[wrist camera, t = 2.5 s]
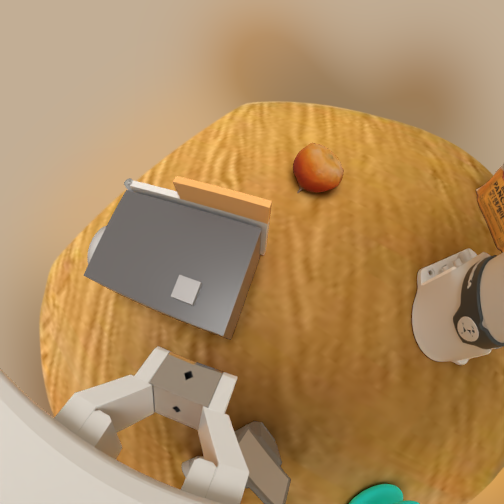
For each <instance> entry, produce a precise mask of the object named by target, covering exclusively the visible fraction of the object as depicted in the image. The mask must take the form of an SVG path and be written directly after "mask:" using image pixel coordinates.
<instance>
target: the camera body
mask: <svg viewBox="0 0 504 504" xmlns="http://www.w3.org/2000/svg"><path fill="white" fill-rule="evenodd" d="M261 232H262V229H261V228H258V227H255V226H251V225H248V224H245V223H241V222H238V221H235V220H231V219H228V218H224V217H221V216H218V215H214V214H211V213H207V212H204V211H200V210H197V209H193V208H190V207H186V206H183V205H179V204H176V203H172V202H168V201H165V200H161V199H158V198H154V197H150V196H147V195H143V194H139V193H135V192H132V191H128V190H126V192H125V193H124V195H123V197H122V199H121V200H120V202H119V204H118V206H117V208H116V210H115V211H114V213H113V215H112V217H111V219H110V221H109V223H108V225H107V226H105V227H103V228H101V229H100V230H99V231H98V232H97V233H96V234H95V236H94V237H93V239H92V241H91V243H90V246H89V250H88V267H87V269H86V271H85V274H84V276H86V277H88V278H89V279H91V280H93V281H95V282H97V283H99V284H101V285H102V286H104V287H106V288H108V289H110V290H112V291H114V292H116V293H118V294H120V295H122V296H124V297H126V298H129V299H131V300H133V301H135V302H137V303H140V304H142V305H144V306H146V307H149V308H151V309H153V310H155V311H158V312H160V313H163V314H165V315H167V316H170V317H172V318H175V319H177V320H180V321H182V322H185V323H187V324H190V325H192V326H195V327H197V328H200V329H203V330H205V331H208V332H211V333H213V334H216V335H219V336H222V337H224V338H227V339H230V340H231V339H232V336H233V333H234V330H235V328H236V325H237V322H238V319H239V316H240V313H241V311H242V308H243V305H244V302H245V299H246V296H247V293H248V291H249V288H250V285H251V282H252V279H253V276H254V273H255V271H256V268H257V265H258V262H259V259H260V246H261Z"/></svg>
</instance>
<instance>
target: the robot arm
mask: <svg viewBox="0 0 504 504" xmlns="http://www.w3.org/2000/svg"><path fill="white" fill-rule="evenodd" d="M428 272H429V273H430V275H429V273H428ZM417 284H418V290H417V294H416V297H415V300H414V304H413V310H412V325H413V331H414V335H415V338H416V341H417V343H418V345H419V347H420V349H421V350H422V351H423V353H424V354H425V355H426V356H427V357H429V358H430V359H432V360H434V361H438V362H446V361H452V362H454V363H455V364H458V365H464V364H466V363H467V362H468V360H469V359H470V358H474V357H479V356H483V355H487V354H489V353H490V352H491V350H492V349H498V348H501V347H503V346H504V252H503V253H501V254H500V255H498V256H496V255H494V256H490V255H489V254H488V253H486V252H483V253H481V254H479V255H477V254H476V253H475V252H474V251H473V250H471V249H470V248H468V249H465V250H463V251H461V252H459V253H456V254H454V255H452V256H450V257H448V258H445V259H443V260H441V261H438V262H436V263H434V264H431V265H429V266H427V267H424V268H422V269H420V270H419V271H418V274H417ZM237 378H238V377H237V376H234V375H231V374H228V373H225V372H224V373H223V371H220V370H217V369H214V368H212V367H209V366H206V365H203V364H200V363H198V362H194V361H191V360H189V359H187V358H184V357H182V356H180V355H177V354H175V353H173V352H171V351H168V350H166V349H164V348H161V347H159V346H158V347H156V348H155V349H154V350H153V351H152V353H151V354H150V355H149V357H148V358H147V359H146V361H145V362H144V364H143V365H142V366H141V368H140V369H139V370H138V372H137V373H136V374H135V376H133V375H131V374H130V375H128V376H125V377H122V378H119V379H116V380H113V381H110V382H107V383H105V384H101V385H98V386H95V387H92V388H89V389H86V390H83V391H80V392H76V393H75V394H74V395H73V396H72V397H71V398H70V399H69V401H68V402H67V403H66V404H65V405H64V407H63V408H62V409H61V410H60V412H59V413H58V414H57V415H56V416H55V418H53V417H52V416H51V415H49V414H48V413H47V412H45V411H44V410H43V409H42V408H41V407H40V406H38V405H37V404H36V403H35V402H34V401H33V400H32V399H31V398H30V397H29V396H27V395H26V394H25V393H24V392H23V391H22V390H21V389H20V388H19V387H18V386H17V385H16V384H15V383H14V382H13V381H12V380H11V379H10V378H9V377H8V376H7V375H6V374H5V373H4V372H3V371H2V370H1V368H0V504H240V502H241V499H242V496H243V492H244V489H245V486H246V482H247V479H248V475H249V470H248V467H247V465H246V462H245V460H244V457H243V454H242V452H241V449H240V446H239V443H238V440H237V438H236V435H235V432H234V429H233V426H232V423H231V420H230V417H229V415H227V414H225V413H226V410H227V407H228V404H229V401H230V399H231V396H232V393H233V390H234V387H235V384H236V381H237ZM154 412H156V413H158V414H160V415H163V416H165V417H168V418H170V419H173V420H175V421H177V422H180V423H182V424H184V425H187V426H189V427H192V428H194V429H196V430H198V434H199V438H200V443H201V447H202V451H203V456H204V459H201V458H198V459H196V460H194V462H193V464H192V466H191V469H190V471H189V473H188V475H187V477H186V480H185V482H184V484H183V486H182V488H181V490H180V489H177V488H175V487H172V486H170V485H167V484H165V483H162V482H160V481H158V480H156V479H153V478H151V477H149V476H147V475H145V474H143V473H140V472H138V471H136V470H134V469H132V468H130V467H129V466H127V465H125V464H123V463H121V462H119V461H117V460H116V458H117V456H118V455H119V453H120V451H121V449H122V445H121V443H120V440H119V438H118V436H117V433H116V432H118V431H121V430H123V429H125V428H127V427H129V426H131V425H133V424H135V423H136V422H138V421H140V420H142V419H144V418H146V417H148V416H150V415H152V414H154Z"/></svg>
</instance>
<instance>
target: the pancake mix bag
mask: <svg viewBox="0 0 504 504" xmlns="http://www.w3.org/2000/svg"><path fill="white" fill-rule="evenodd" d="M476 192H477V194H478V198H477V201H478V204H479V207H480V209H481V211H482V213H483V216H484V218H485V220H486V223H487V225H488V227H489V229H490V232H491V234H492V237H493V240H494V242H495V244H496V247H497V249H499V250H501V251H502V253H503V252H504V164H503V165H502V166H501V167H500V168H499V169H498V170H497V171H496V173H495V175H494V176H493V177H492V178H491V179H490V180H489V181H488V182H487V183H486V184H484V185H483V186H481V187H480V188H478V189H476Z"/></svg>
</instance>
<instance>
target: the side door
mask: <svg viewBox="0 0 504 504" xmlns="http://www.w3.org/2000/svg"><path fill="white" fill-rule="evenodd" d="M173 183H174V186H175V188H176V190H177V192H176V191H172V190H169V189H165V188H161V187H157V186H153V185H149V184H145V183H141V182H137V181H133V180H132V179H127V180H126V181H125V182H124V185H125V186H126V188H127V189H128V191H132V192H135V193H139V194H143V195H147V196H150V197H154V198H158V199H161V200H165V201H168V202H172V203H176V204H179V205H183V206H186V207H190V208H193V209H197V210H200V211H204V212H207V213H211V214H214V215H218V216H221V217H224V218H228V219H231V220H235V221H238V222H241V223H245V224H248V225H251V226H255V227H258V228H261V229H262V232H261V246H260V255H264V254H265V252H266V245H267V237H268V229H269V221H270V213H271V204H272V201H270V200H266V199H263V198H259V197H256V196H252V195H249V194H245V193H241V192H238V191H234V190H230V189H227V188H223V187H219V186H215V185H211V184H207V183H203V182H199V181H195V180H191V179H187V178H183V177H179V176H176V177H175V179H174V181H173Z"/></svg>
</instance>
